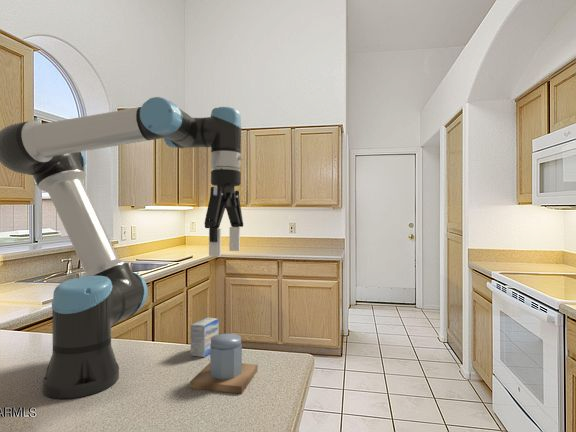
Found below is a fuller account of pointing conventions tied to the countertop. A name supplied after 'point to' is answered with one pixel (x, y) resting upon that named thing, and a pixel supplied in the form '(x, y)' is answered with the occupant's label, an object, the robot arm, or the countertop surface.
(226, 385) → the brown wooden square board
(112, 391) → the countertop surface
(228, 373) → the cap
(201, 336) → the medicine box
